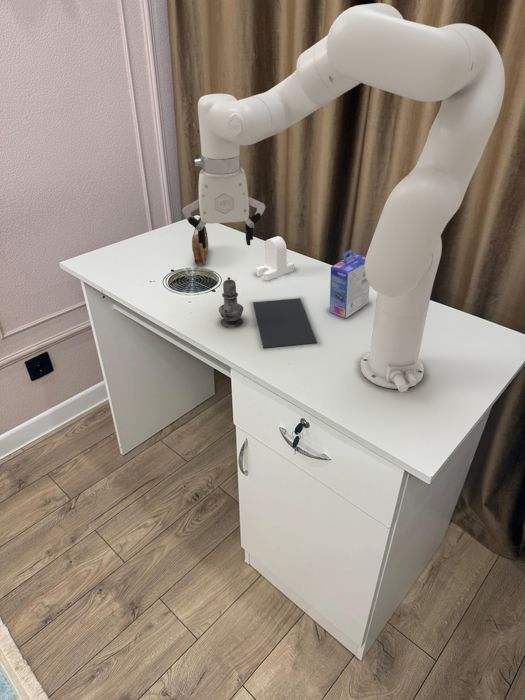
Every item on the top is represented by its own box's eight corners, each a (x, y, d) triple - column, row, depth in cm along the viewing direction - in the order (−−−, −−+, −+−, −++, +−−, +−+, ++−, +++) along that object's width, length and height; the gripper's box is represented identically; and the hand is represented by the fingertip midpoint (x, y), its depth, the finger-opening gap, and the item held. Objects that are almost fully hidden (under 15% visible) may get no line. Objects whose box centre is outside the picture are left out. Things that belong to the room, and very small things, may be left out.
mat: (316, 343, 113) (317, 342, 113) (263, 348, 112) (263, 347, 112) (300, 299, 130) (300, 298, 129) (253, 303, 128) (253, 302, 128)
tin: (204, 269, 145) (201, 241, 140) (193, 269, 145) (190, 241, 140) (209, 247, 157) (207, 221, 152) (199, 247, 157) (196, 221, 152)
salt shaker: (241, 329, 119) (238, 283, 112) (216, 327, 120) (212, 281, 113) (246, 316, 123) (244, 271, 116) (223, 314, 124) (219, 270, 117)
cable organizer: (294, 270, 143) (295, 236, 137) (267, 281, 138) (266, 246, 132) (282, 263, 146) (282, 230, 140) (255, 274, 141) (254, 240, 136)
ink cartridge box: (350, 296, 130) (355, 243, 122) (369, 303, 127) (375, 249, 119) (327, 311, 124) (330, 256, 116) (345, 319, 121) (350, 263, 113)
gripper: (177, 171, 97) (186, 254, 107) (267, 167, 99) (267, 249, 109) (177, 160, 103) (186, 240, 113) (262, 156, 105) (263, 235, 115)
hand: (226, 244), depth 111 cm, fingers open, 9 cm apart
